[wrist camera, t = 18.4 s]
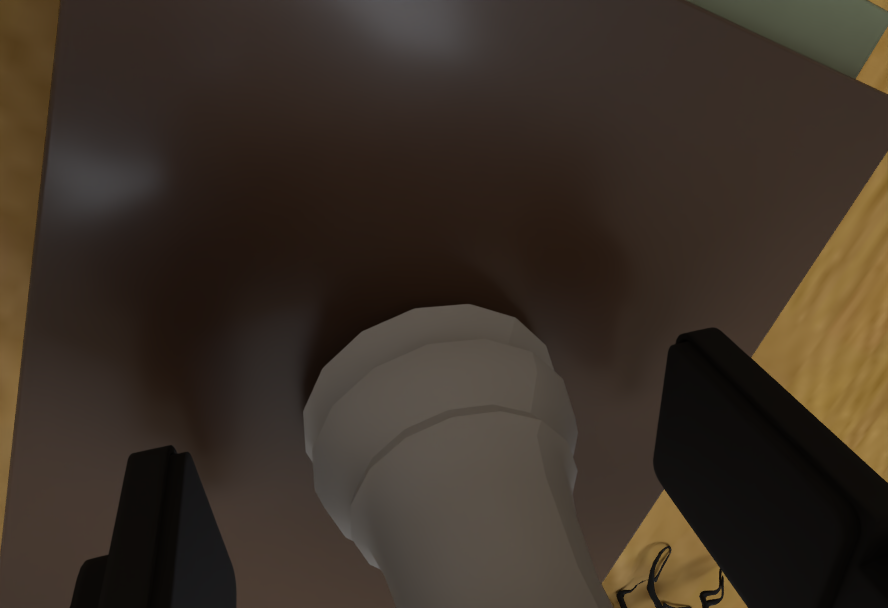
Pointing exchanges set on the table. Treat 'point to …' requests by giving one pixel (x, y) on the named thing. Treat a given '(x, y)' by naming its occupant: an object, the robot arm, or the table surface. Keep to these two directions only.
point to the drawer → (812, 27)
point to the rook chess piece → (453, 462)
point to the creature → (658, 604)
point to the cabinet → (392, 241)
